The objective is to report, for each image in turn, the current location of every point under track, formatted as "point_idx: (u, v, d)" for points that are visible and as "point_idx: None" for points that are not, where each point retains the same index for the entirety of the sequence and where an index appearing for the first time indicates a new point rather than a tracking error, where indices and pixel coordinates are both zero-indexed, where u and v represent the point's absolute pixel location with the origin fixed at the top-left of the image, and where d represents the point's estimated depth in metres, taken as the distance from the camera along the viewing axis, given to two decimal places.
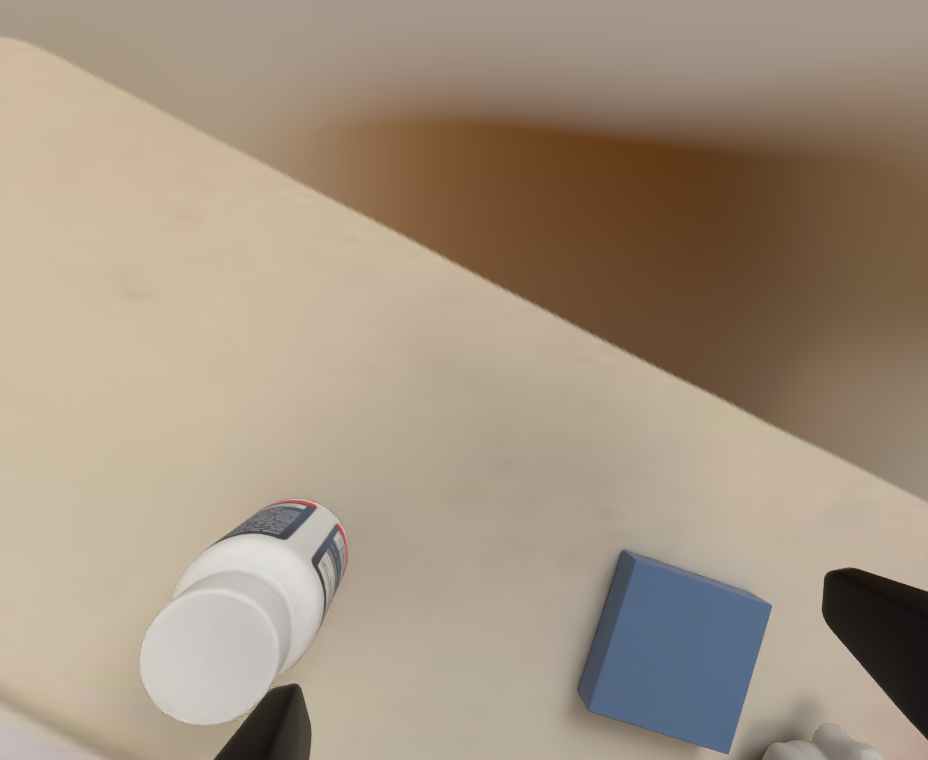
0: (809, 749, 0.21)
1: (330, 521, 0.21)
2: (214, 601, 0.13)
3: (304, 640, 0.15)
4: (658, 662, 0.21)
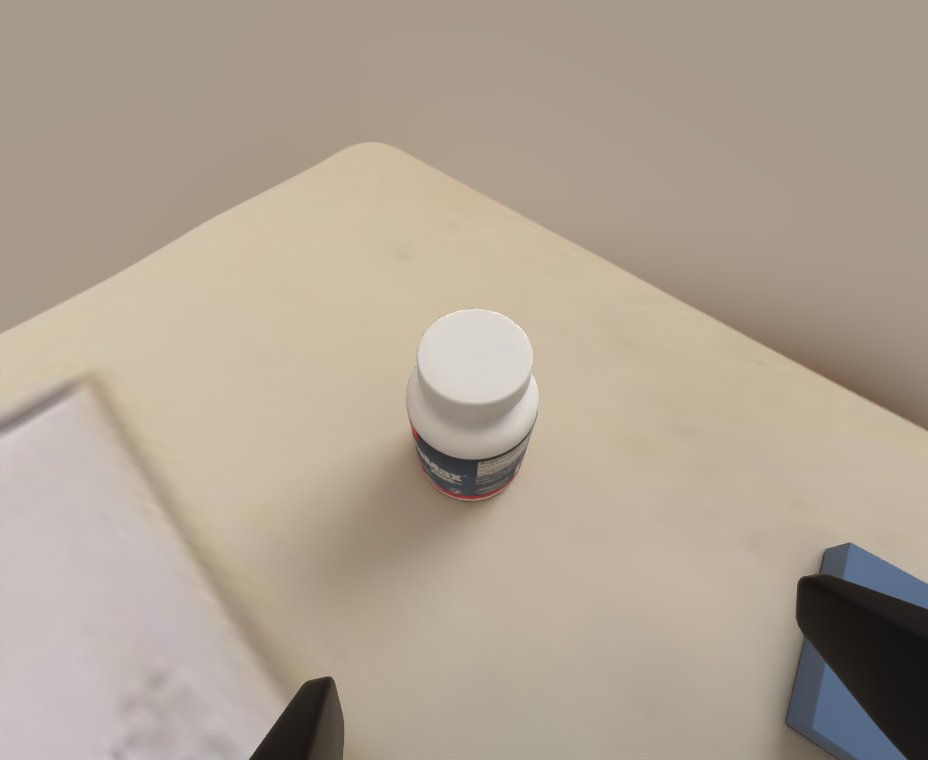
0: None
1: None
2: (488, 317, 0.16)
3: (523, 420, 0.16)
4: None
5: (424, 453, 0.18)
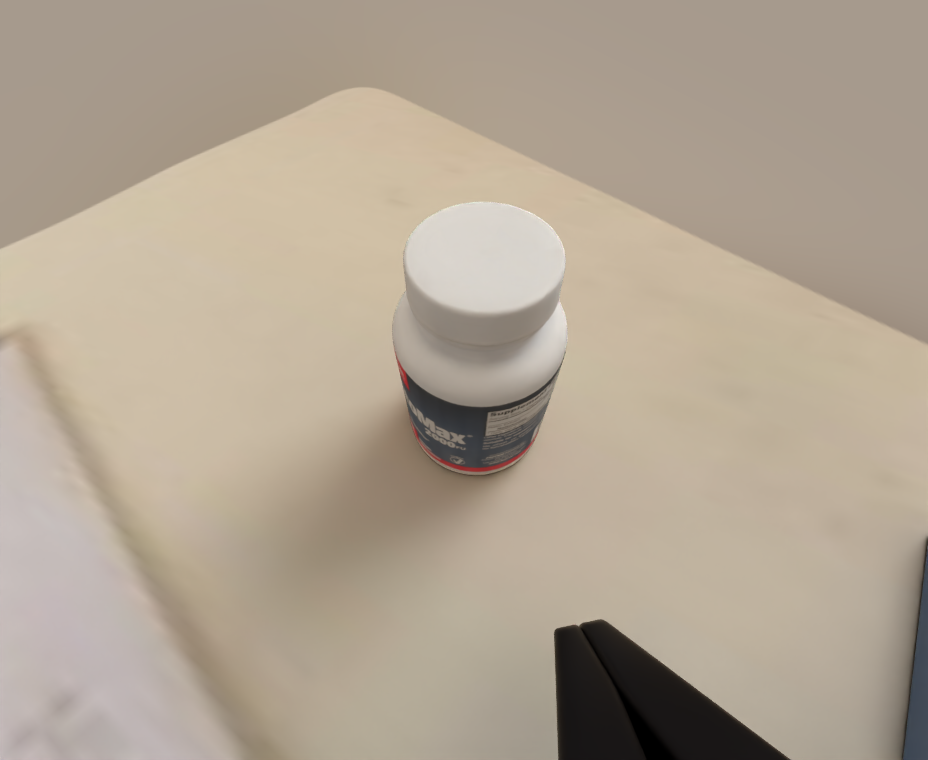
0: None
1: None
2: (503, 211, 0.11)
3: (549, 354, 0.12)
4: None
5: (416, 406, 0.14)
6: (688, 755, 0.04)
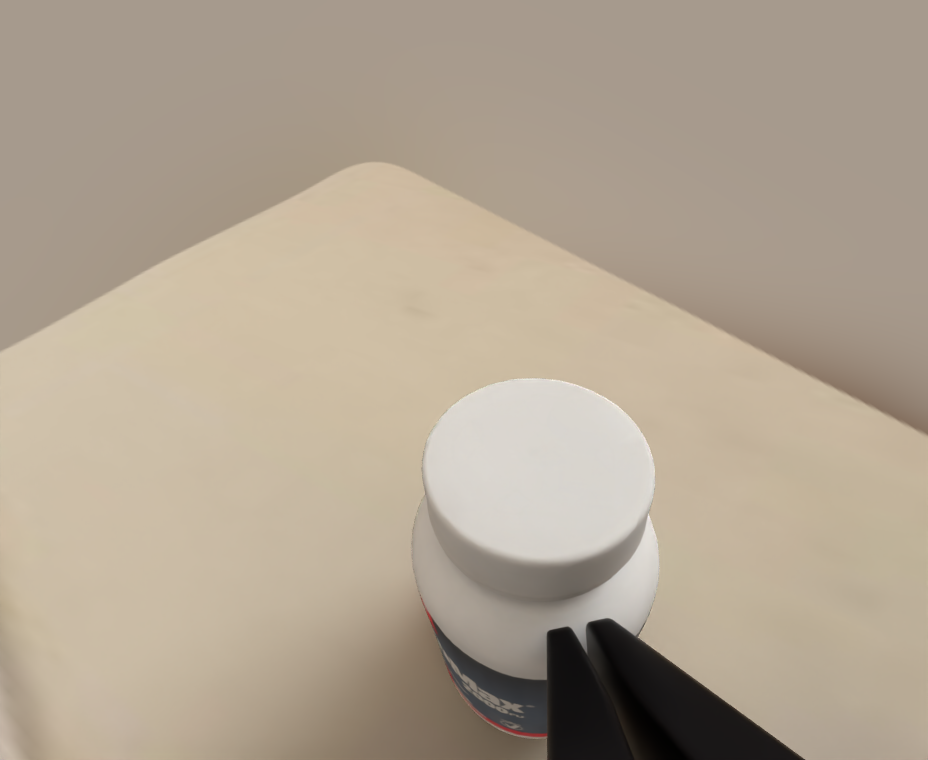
0: None
1: None
2: (551, 389, 0.09)
3: (641, 587, 0.08)
4: None
5: (449, 656, 0.10)
6: (699, 752, 0.05)
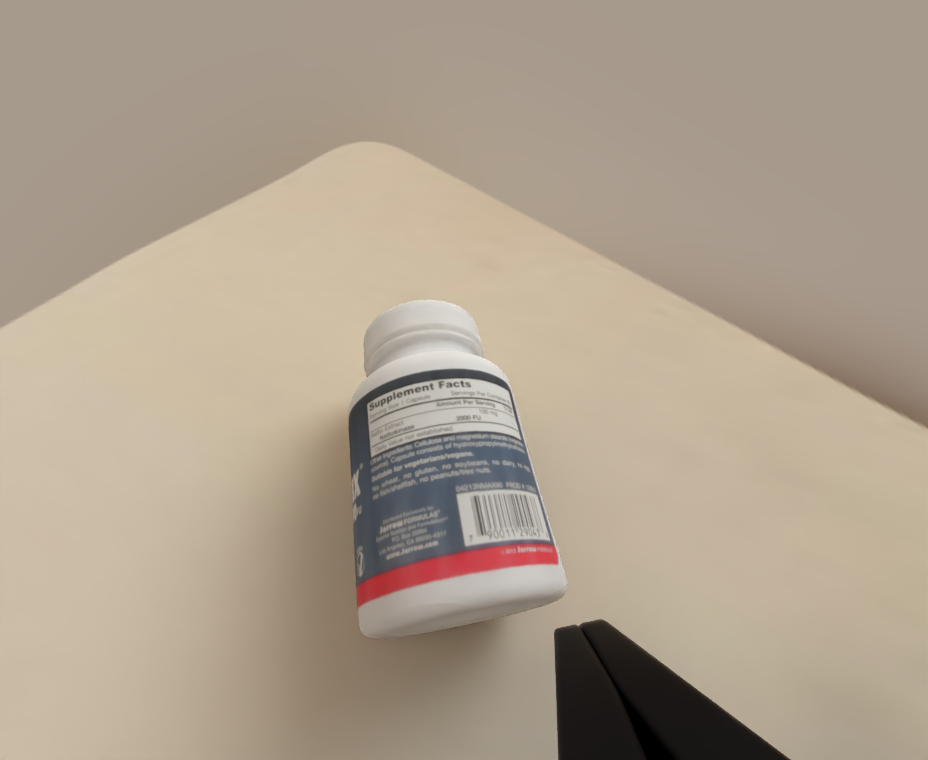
0: None
1: (554, 541, 0.11)
2: None
3: (433, 351, 0.12)
4: None
5: None
6: (688, 755, 0.04)
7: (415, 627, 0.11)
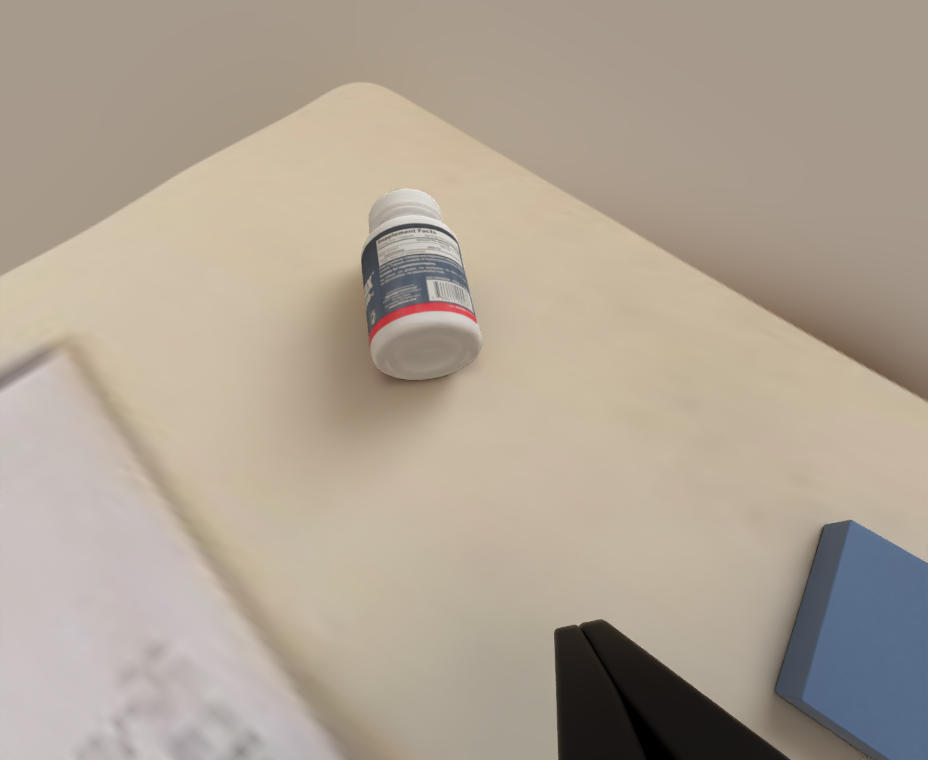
0: None
1: None
2: None
3: (415, 215, 0.21)
4: (898, 662, 0.16)
5: None
6: (688, 755, 0.04)
7: (399, 364, 0.21)
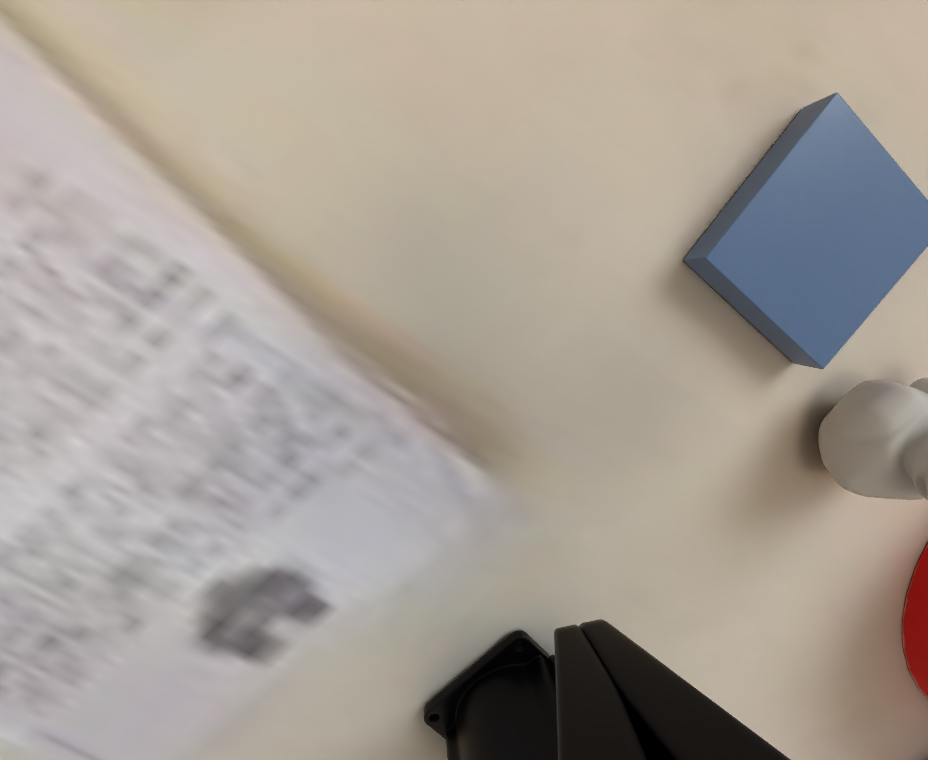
0: None
1: None
2: None
3: None
4: (803, 234, 0.17)
5: None
6: (688, 755, 0.04)
7: None
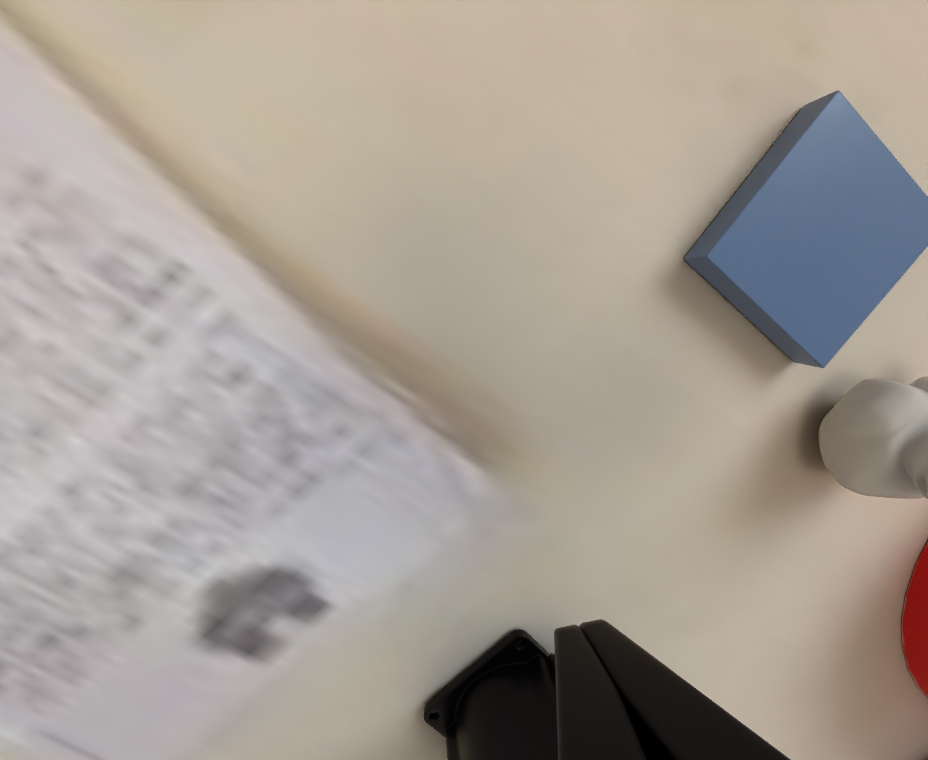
0: None
1: None
2: None
3: None
4: (804, 232, 0.17)
5: None
6: (688, 755, 0.04)
7: None
